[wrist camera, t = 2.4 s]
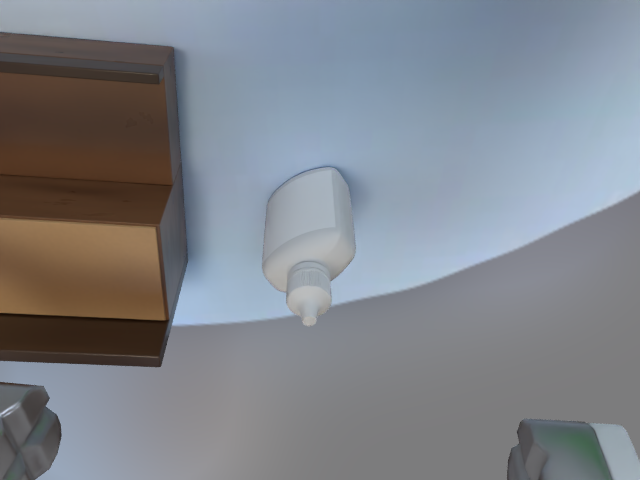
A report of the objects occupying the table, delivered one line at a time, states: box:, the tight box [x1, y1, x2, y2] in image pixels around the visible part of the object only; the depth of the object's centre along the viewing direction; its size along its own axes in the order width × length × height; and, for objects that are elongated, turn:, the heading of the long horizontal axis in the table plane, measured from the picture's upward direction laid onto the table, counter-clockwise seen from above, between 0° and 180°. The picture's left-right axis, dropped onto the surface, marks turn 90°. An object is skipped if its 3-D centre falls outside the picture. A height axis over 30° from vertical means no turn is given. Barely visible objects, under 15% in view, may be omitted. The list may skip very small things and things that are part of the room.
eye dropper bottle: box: [262, 167, 356, 326], centre depth 33 cm, size 4×6×12 cm
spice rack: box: [0, 33, 188, 367], centre depth 32 cm, size 16×15×10 cm
